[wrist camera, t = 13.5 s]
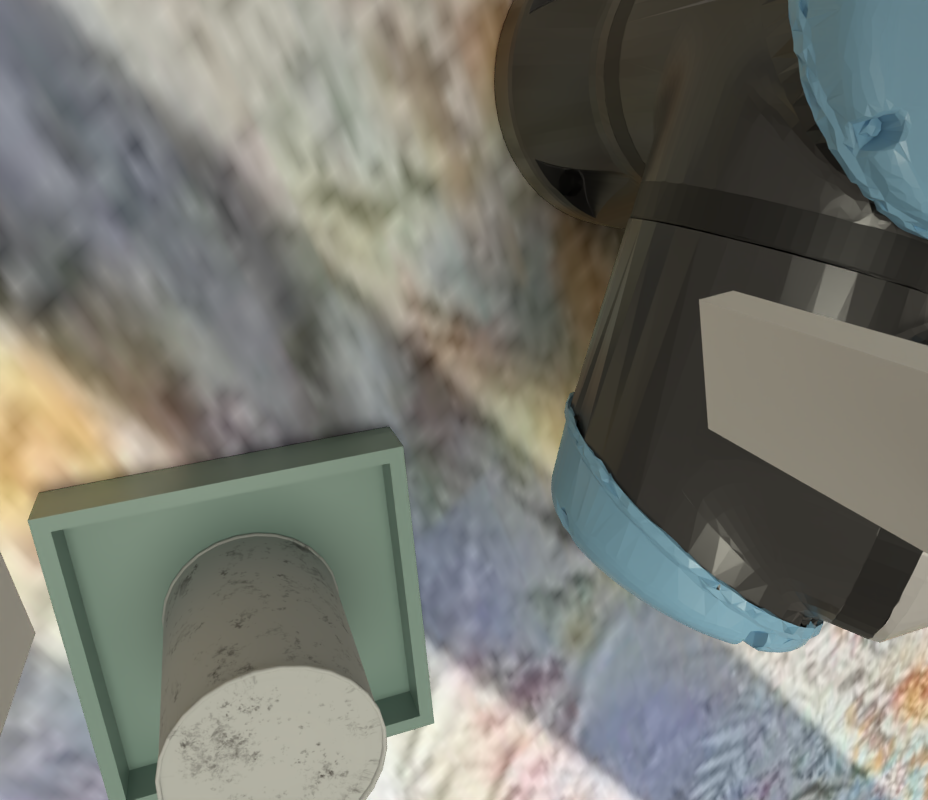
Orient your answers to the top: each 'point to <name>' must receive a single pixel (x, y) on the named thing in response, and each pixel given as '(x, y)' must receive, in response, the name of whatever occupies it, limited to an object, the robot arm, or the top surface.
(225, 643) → the speckled white canister
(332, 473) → the tray
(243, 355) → the top surface
